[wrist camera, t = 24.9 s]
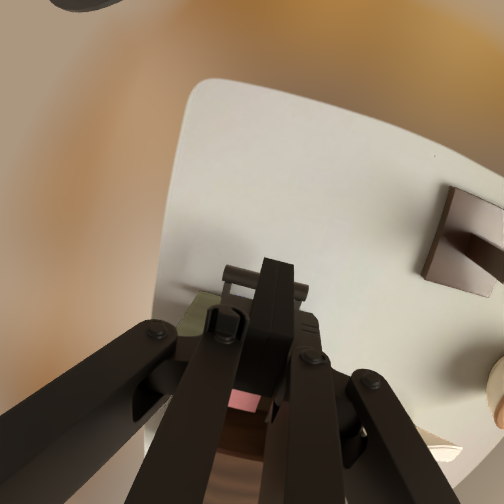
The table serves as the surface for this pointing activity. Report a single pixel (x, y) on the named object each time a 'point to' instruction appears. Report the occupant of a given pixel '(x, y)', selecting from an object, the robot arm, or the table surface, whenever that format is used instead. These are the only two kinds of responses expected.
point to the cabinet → (234, 478)
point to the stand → (467, 245)
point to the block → (244, 400)
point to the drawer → (252, 424)
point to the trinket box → (496, 393)
